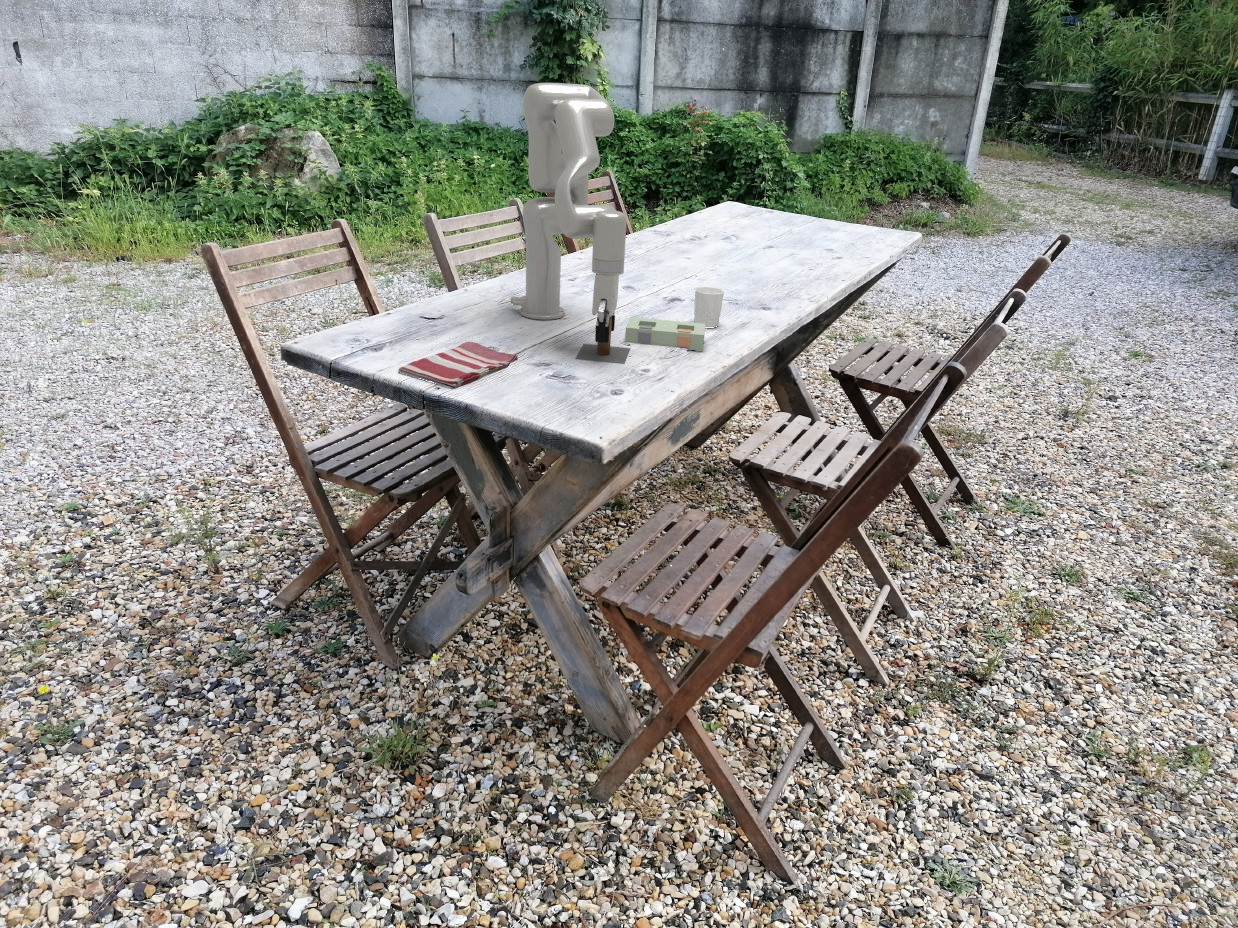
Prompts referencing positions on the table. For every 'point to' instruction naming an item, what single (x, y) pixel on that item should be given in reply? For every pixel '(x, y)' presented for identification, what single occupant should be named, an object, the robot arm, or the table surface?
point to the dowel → (605, 347)
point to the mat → (615, 356)
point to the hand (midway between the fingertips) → (604, 336)
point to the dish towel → (459, 365)
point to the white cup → (708, 305)
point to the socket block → (665, 333)
